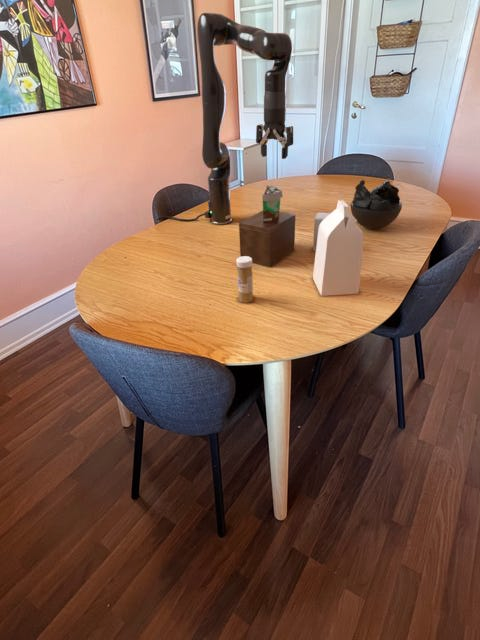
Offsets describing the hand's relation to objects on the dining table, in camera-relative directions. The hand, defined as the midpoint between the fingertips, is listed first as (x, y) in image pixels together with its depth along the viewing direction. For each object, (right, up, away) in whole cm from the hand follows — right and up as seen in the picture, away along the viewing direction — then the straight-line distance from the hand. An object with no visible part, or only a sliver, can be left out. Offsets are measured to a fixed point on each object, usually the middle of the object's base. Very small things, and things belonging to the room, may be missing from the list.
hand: (273, 157), depth 138 cm
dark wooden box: (-2, -35, +5) cm, 35 cm away
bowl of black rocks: (+44, -20, +23) cm, 53 cm away
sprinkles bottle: (-10, -53, -22) cm, 58 cm away
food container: (-1, -24, -4) cm, 24 cm away
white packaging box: (+20, -32, +7) cm, 38 cm away
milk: (+18, -48, -17) cm, 54 cm away
